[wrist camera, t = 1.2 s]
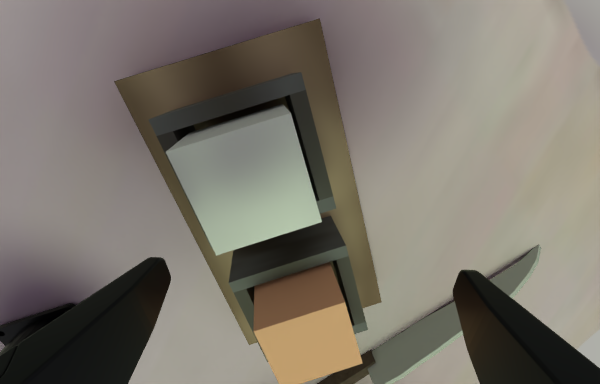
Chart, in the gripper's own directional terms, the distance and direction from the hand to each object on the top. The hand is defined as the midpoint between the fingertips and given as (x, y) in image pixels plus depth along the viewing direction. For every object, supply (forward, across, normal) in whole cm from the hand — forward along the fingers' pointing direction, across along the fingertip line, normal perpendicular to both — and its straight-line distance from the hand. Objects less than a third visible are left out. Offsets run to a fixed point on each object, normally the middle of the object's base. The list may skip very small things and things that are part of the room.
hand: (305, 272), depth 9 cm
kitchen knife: (+13, -10, +21) cm, 26 cm away
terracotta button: (+7, +1, +10) cm, 12 cm away
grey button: (+8, +3, 0) cm, 8 cm away
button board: (+12, +3, +6) cm, 14 cm away
